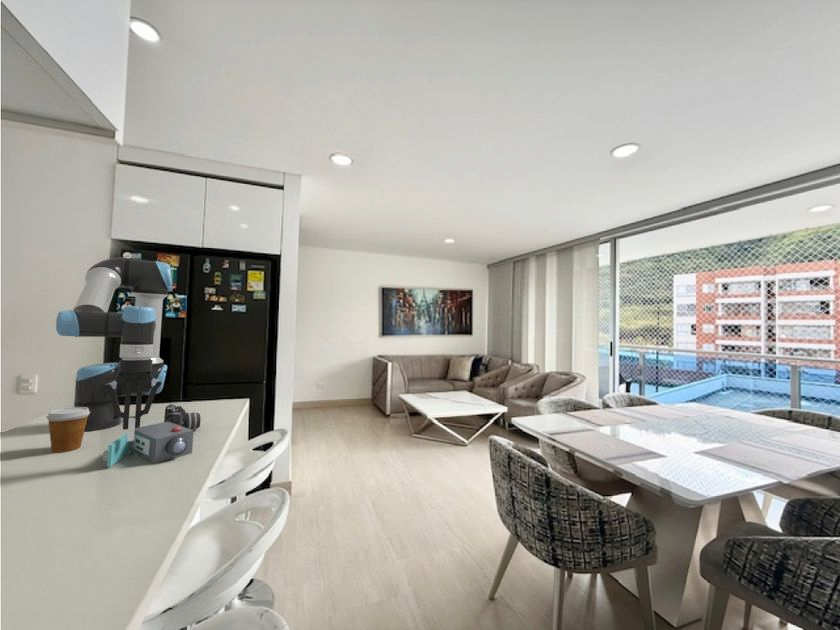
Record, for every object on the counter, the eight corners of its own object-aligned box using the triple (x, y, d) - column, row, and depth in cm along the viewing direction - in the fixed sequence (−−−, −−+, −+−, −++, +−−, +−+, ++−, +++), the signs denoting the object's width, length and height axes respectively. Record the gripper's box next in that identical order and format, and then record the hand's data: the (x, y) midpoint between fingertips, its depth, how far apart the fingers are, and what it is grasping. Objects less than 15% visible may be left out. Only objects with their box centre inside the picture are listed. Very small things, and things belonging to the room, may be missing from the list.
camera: (204, 435, 123) (205, 407, 123) (167, 441, 115) (169, 412, 115) (194, 425, 133) (196, 400, 133) (160, 431, 125) (161, 404, 125)
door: (123, 450, 104) (125, 431, 104) (131, 450, 105) (132, 430, 105) (102, 467, 93) (103, 445, 93) (111, 466, 93) (112, 444, 93)
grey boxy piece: (129, 451, 105) (131, 426, 105) (166, 442, 114) (168, 419, 114) (158, 465, 96) (159, 438, 96) (196, 454, 105) (197, 429, 105)
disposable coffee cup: (54, 456, 99) (58, 415, 99) (36, 451, 102) (39, 411, 102) (94, 446, 108) (97, 408, 108) (76, 441, 111) (79, 405, 111)
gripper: (105, 360, 92) (98, 448, 91) (164, 359, 100) (159, 439, 99) (106, 358, 97) (100, 440, 96) (163, 357, 106) (158, 432, 105)
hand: (130, 439), depth 98 cm, fingers closed
